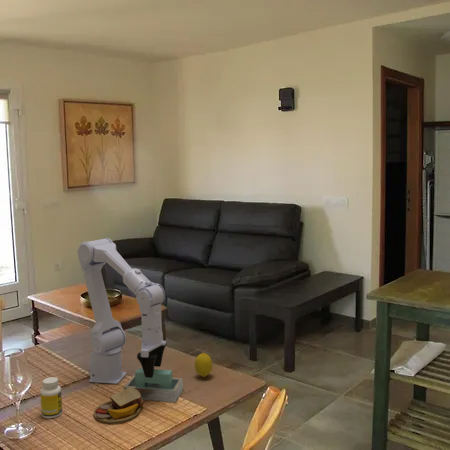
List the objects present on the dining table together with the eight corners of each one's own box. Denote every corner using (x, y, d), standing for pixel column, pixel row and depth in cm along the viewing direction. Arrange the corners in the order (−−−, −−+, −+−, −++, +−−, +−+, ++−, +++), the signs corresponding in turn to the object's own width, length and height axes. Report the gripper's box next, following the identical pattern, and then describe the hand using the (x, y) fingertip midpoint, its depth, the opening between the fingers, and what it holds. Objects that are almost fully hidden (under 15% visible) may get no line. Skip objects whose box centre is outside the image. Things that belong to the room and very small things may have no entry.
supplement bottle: (62, 417, 141) (60, 382, 139) (41, 420, 139) (38, 385, 138) (62, 408, 146) (60, 374, 145) (42, 411, 144) (39, 377, 143)
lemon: (210, 381, 161) (209, 356, 160) (193, 380, 163) (192, 355, 161) (214, 374, 167) (213, 350, 166) (197, 372, 168) (196, 349, 167)
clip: (135, 393, 153) (134, 372, 152) (139, 389, 156) (138, 368, 155) (170, 396, 151) (169, 374, 150) (172, 391, 154) (172, 370, 153)
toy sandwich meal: (88, 409, 145) (88, 393, 145) (135, 398, 152) (134, 382, 151) (101, 430, 134) (100, 412, 134) (150, 417, 141) (150, 400, 140)
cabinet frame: (124, 398, 151) (123, 387, 150) (133, 386, 159) (133, 375, 158) (175, 402, 148) (175, 390, 148) (183, 389, 156) (182, 378, 156)
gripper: (157, 336, 143) (158, 383, 145) (172, 319, 157) (173, 362, 159) (133, 334, 144) (134, 381, 146) (149, 318, 158) (150, 360, 160)
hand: (153, 371), depth 153 cm, fingers open, 7 cm apart
